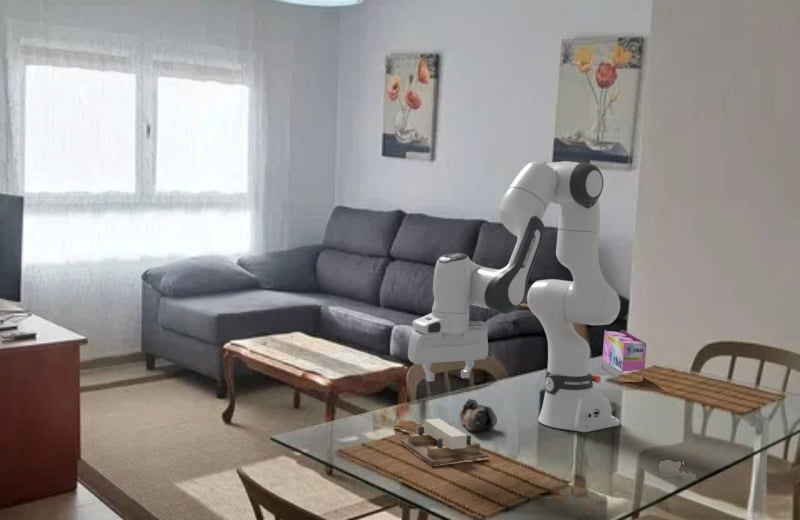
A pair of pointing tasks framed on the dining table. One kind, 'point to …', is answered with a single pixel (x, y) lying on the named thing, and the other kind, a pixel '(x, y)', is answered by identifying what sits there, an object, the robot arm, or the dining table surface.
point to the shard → (407, 425)
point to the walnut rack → (441, 449)
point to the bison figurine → (477, 416)
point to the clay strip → (445, 433)
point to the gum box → (624, 351)
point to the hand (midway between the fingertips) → (447, 379)
